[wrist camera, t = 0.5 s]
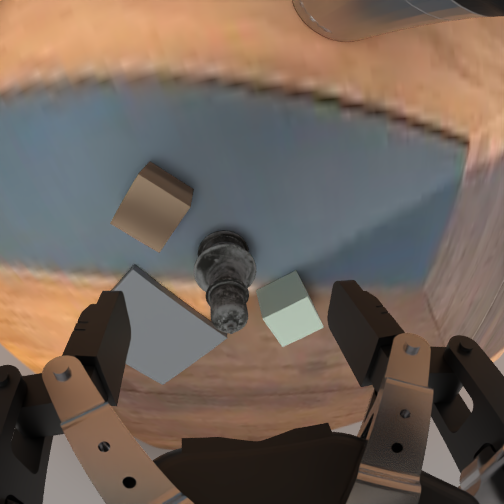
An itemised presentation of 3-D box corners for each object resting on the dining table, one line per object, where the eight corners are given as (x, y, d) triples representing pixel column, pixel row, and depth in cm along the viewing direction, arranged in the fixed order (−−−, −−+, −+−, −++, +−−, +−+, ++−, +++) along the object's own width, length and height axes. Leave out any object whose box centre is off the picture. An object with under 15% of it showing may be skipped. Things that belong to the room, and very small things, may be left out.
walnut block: (149, 161, 27) (138, 174, 23) (193, 188, 29) (190, 206, 25) (124, 203, 29) (110, 223, 24) (166, 229, 31) (159, 252, 26)
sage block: (295, 270, 35) (307, 296, 30) (311, 300, 37) (323, 327, 33) (255, 290, 35) (262, 318, 31) (274, 318, 38) (282, 346, 33)
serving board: (134, 264, 32) (132, 269, 31) (226, 332, 38) (227, 338, 37) (80, 326, 35) (77, 332, 34) (163, 379, 41) (162, 384, 40)
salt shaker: (249, 277, 34) (267, 359, 24) (195, 277, 34) (192, 361, 23) (253, 228, 32) (276, 300, 21) (194, 227, 31) (188, 301, 20)
